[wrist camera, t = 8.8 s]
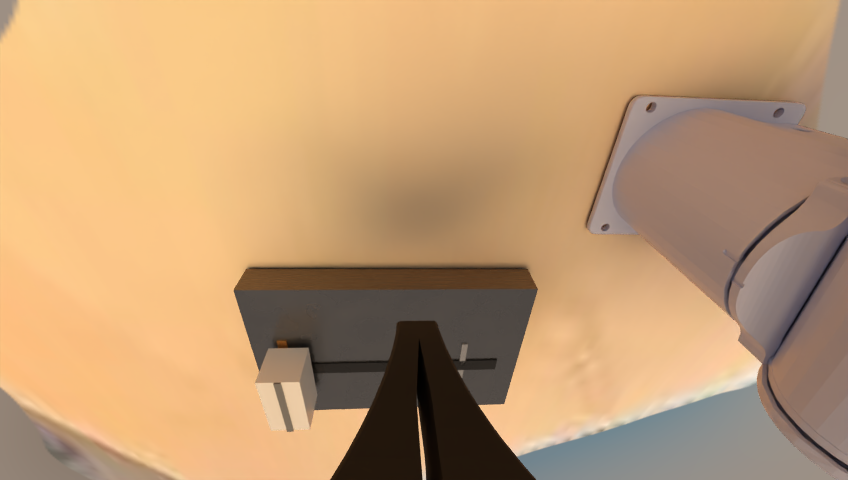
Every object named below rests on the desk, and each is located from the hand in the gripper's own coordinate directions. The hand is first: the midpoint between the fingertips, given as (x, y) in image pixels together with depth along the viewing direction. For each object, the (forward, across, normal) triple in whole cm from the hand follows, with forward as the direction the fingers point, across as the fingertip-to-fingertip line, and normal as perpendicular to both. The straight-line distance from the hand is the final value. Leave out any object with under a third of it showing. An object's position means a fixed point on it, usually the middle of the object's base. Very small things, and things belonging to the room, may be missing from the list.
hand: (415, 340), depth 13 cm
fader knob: (+7, +7, +11) cm, 15 cm away
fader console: (+9, +1, +10) cm, 14 cm away
